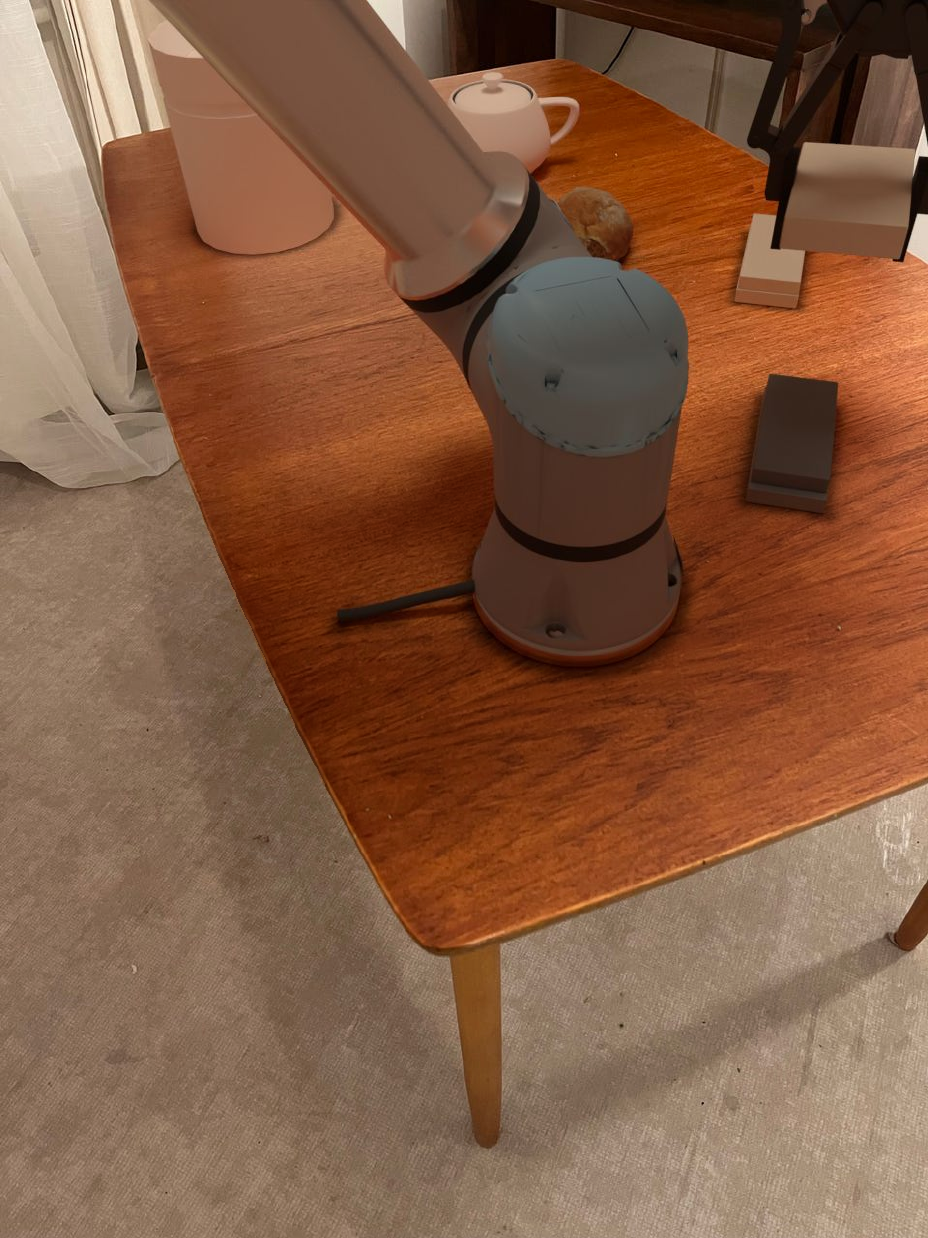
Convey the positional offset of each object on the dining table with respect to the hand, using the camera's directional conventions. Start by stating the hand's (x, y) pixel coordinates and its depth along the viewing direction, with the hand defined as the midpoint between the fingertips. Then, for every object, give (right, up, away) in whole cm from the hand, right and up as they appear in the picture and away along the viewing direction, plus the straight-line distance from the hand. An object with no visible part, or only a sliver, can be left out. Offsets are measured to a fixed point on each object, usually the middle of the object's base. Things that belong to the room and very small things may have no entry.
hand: (837, 246), depth 74 cm
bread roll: (-15, +12, +32) cm, 38 cm away
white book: (0, +2, -2) cm, 3 cm away
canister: (-51, +18, +40) cm, 68 cm away
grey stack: (-1, -14, +8) cm, 16 cm away
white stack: (+4, +8, +28) cm, 29 cm away
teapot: (-25, +27, +47) cm, 59 cm away
